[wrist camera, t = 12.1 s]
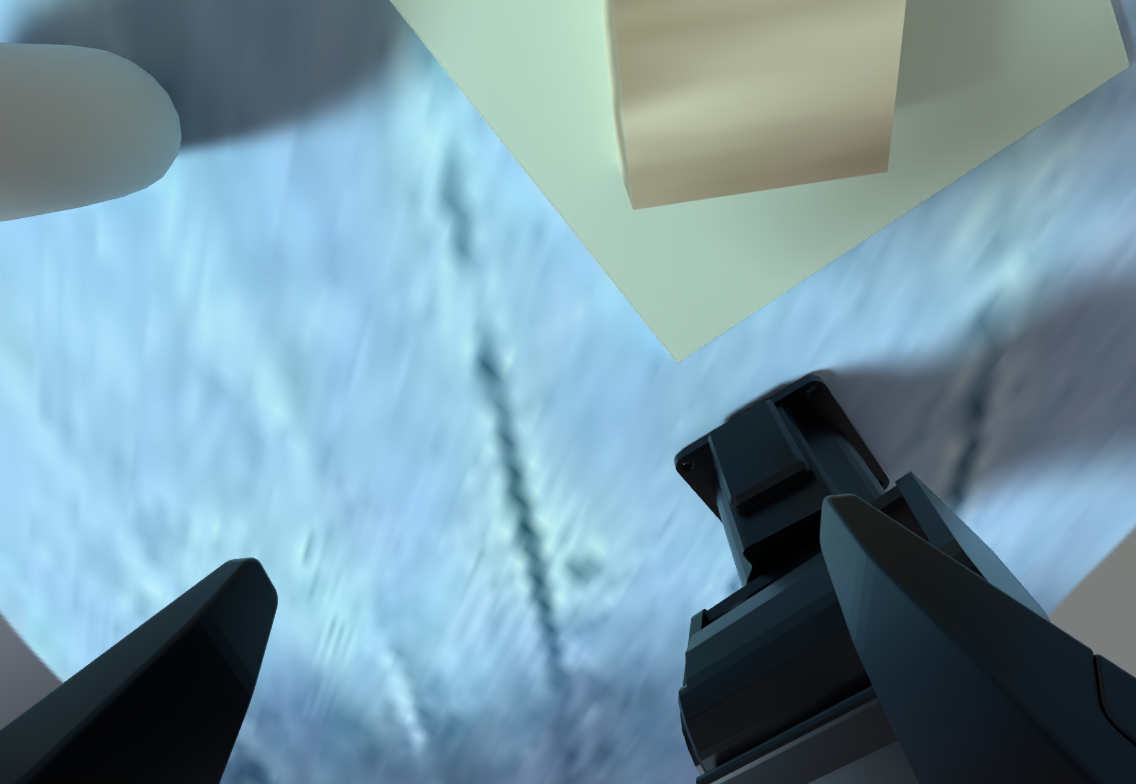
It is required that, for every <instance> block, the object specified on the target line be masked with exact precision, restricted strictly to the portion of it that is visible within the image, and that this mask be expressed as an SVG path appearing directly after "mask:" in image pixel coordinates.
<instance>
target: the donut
mask: <svg viewBox="0 0 1136 784" xmlns="http://www.w3.org/2000/svg"><path fill="white" fill-rule="evenodd" d="M181 138H182V134H181V127H180V120H179V115H178V113H177V111H176V109H175V107H174V105H173V103H172V101H171V98H170V96H169V95H168V93H167V92H166V91H165V90H164V89H163V88H162V86H161V85H160V84H159V83H158V82H157V81H156V79H155V78H154V77H153V76H152V75H150V74H149V73H148V72H146V71H145V70H143V69H142V68H141V67H139V66H138V65H136V64H135V63H134V62H132V61H131V60H129V59H126V58H124V57H121V56H119V55H116V54H114V53H111V52H109V51H106V50H102V49H96V48H88V47H80V46H73V45H56V44H28V43H0V222H1V221H8V220H14V219H20V218H25V217H30V216H36V215H41V214H47V213H52V212H58V211H63V210H68V209H74V208H79V207H83V206H87V205H91V204H95V203H100V202H104V201H108V200H112V199H116V198H120V197H124V196H126V195H129V194H131V193H134V192H137V191H139V190H142V189H145V188H147V187H148V186H150V185H151V184H153V183H155V182H156V181H158V180H159V179H161V178H162V177H163V176H164V175H165V173H166V172H167V170H168V169H169V167H170V166H171V164H172V163H173V161H174V160H175V159H176V157H177V156H178V152H179V147H180V143H181Z"/></svg>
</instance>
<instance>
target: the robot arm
mask: <svg viewBox="0 0 1136 784" xmlns="http://www.w3.org/2000/svg"><path fill="white" fill-rule="evenodd" d="M811 387H816V390H814V391H813V392H811V393H807V390H808V389H809V388H811ZM686 461H692V463H691V464H689V465H683V463H684V462H686ZM674 463H675V467H676V470H677V472H678V473H679V474H680V475H681V476H682V477H683V479H684V480H685V481H686V482H687V483H688V484H689V485H690V487H691V488H692V489H693V490H694V491H695V492H696V493H697V495H698V496H699V497H700V498H701V499H702V500H703V501H704V502H705V504H706V505H707V506H708V507H709V508H710V509H711V510H712V512H713V513H714V514H715V515H716V516H717V517H718V518H719V520H720V521H721V522H722V523H723V526H724V529H725V532H726V536H727V539H728V542H729V545H730V549H731V552H732V555H733V558H734V562H735V565H736V568H737V571H738V575H739V578H740V581H741V585H742V588H741V589H739V590H738V591H736V592H735V593H733V594H732V595H730V596H729V597H727V598H726V599H724V600H723V601H721V602H720V603H718V604H717V605H715V606H714V607H712V608H711V609H709V610H708V611H707V610H706V609H703V610H702V611H700V612H699V613H697V614H696V615H694V616H693V617H692V618H691V626H690V634H689V642H688V648H687V650H686V653H685V655H686V665H685V673H684V681H683V687H681V688H680V690H679V698H678V703H679V707H680V711H681V713H680V717H681V723H682V732H683V735H684V737H685V740H686V744H687V747H688V750H689V752H690V755H691V757H692V759H693V762H694V764H695V766H696V768H697V770H698V772H699V774H700V776H698V777H697V779H696V784H1136V678H1135V677H1134V676H1132V675H1131V674H1129V673H1127V672H1126V671H1124V670H1123V669H1121V668H1120V667H1118V666H1117V665H1115V664H1114V663H1112V662H1111V661H1109V660H1108V659H1106V658H1105V657H1103V656H1102V655H1098V654H1096V655H1094V654H1093V651H1092V650H1091V649H1090V648H1089V647H1087V646H1086V645H1084V644H1083V643H1081V642H1080V641H1078V640H1077V639H1075V638H1073V637H1072V636H1071V635H1069V634H1068V633H1066V632H1064V631H1063V630H1061V629H1060V628H1058V627H1056V626H1055V625H1054V624H1052V623H1051V622H1050V620H1049V618H1048V616H1047V615H1046V613H1045V611H1044V610H1043V609H1042V607H1041V606H1040V605H1039V604H1038V603H1037V602H1036V600H1035V599H1034V598H1033V597H1032V596H1031V595H1030V593H1029V592H1028V591H1027V590H1026V589H1025V588H1024V587H1023V585H1022V584H1021V583H1020V582H1019V581H1018V580H1017V578H1016V577H1015V576H1014V575H1013V574H1012V573H1011V572H1010V570H1009V569H1008V568H1007V567H1006V566H1005V565H1004V563H1003V562H1002V561H1001V560H1000V559H999V558H998V556H997V555H996V554H995V553H994V552H993V551H992V550H991V549H990V548H989V547H988V546H987V545H986V544H985V543H984V542H983V541H982V540H981V539H980V538H979V537H978V536H977V535H976V534H975V533H974V532H973V531H972V530H971V529H970V528H969V527H968V526H967V525H966V524H965V523H964V522H963V521H962V520H961V519H960V518H958V517H957V516H956V515H955V514H954V513H953V512H952V511H951V510H950V509H949V508H948V507H947V506H946V505H945V504H944V503H943V502H942V501H941V500H940V499H939V498H938V497H937V496H936V495H935V494H934V493H933V492H932V491H931V490H930V489H929V488H928V487H927V486H926V485H924V484H923V483H922V482H921V481H920V480H919V479H918V478H917V477H916V476H915V475H914V474H913V473H912V472H909V473H908V474H906V475H905V476H903V477H902V478H900V479H899V480H897V481H896V482H895V483H896V486H895V487H893V488H892V489H890V490H889V491H887V492H885V491H884V490H885V489H886V488H887V487H888V485H889V479H888V477H887V476H886V474H885V473H884V471H883V470H882V468H881V467H880V465H879V464H878V462H877V461H876V459H875V458H874V456H873V455H872V453H871V452H870V450H869V449H868V448H867V446H866V445H865V443H864V442H863V440H862V439H861V437H860V436H859V434H858V433H857V431H856V430H855V428H854V427H853V425H852V424H851V422H850V421H849V419H848V418H847V416H846V415H845V413H844V412H843V410H842V409H841V407H840V406H839V404H838V403H837V401H836V400H835V398H834V397H833V395H832V394H831V392H830V391H829V389H828V388H827V386H826V385H825V384H824V382H823V381H822V380H821V379H820V378H819V377H817V376H807V377H805V378H803V379H801V380H799V381H798V382H796V383H794V384H793V385H791V386H789V387H788V388H786V389H784V390H783V391H781V392H779V393H778V394H776V395H774V396H773V397H771V398H769V399H768V400H766V401H762V402H760V403H759V404H757V405H755V406H754V407H752V408H750V409H749V410H747V411H745V412H744V413H742V414H740V415H739V416H737V417H735V418H734V419H732V420H730V421H729V422H727V423H725V424H724V425H722V426H720V427H719V428H717V429H715V430H714V431H712V432H711V433H710V434H709V435H707V436H706V437H704V438H702V439H701V440H699V441H697V442H696V443H694V444H692V445H691V446H689V447H687V448H686V449H684V450H682V451H681V452H679V453H678V454H677V455H676V457H675V459H674ZM877 479H878V480H877ZM277 605H278V596H277V592H276V589H275V587H274V586H273V584H272V582H271V580H270V579H269V577H268V575H267V573H266V572H265V570H264V568H263V566H262V565H261V563H260V562H259V561H258V560H257V559H255V558H241V559H233V560H229V561H227V562H226V563H224V564H223V565H221V566H220V567H219V568H217V569H216V570H215V571H213V572H212V573H211V574H209V575H208V576H207V577H205V578H204V579H203V580H201V581H200V582H199V583H197V584H196V585H195V586H193V587H192V588H190V589H189V590H188V591H186V592H185V593H184V594H182V595H181V596H180V597H178V598H177V599H176V600H174V601H173V602H172V603H170V604H169V605H168V606H166V607H165V608H164V609H162V610H161V611H160V612H158V613H157V614H156V615H154V616H153V617H152V618H150V619H149V620H147V621H146V622H145V623H143V624H142V625H141V626H139V627H138V628H137V629H135V630H134V631H133V632H131V633H130V634H129V635H127V636H126V637H125V638H123V639H122V640H121V641H119V642H118V643H117V644H115V645H114V646H113V647H111V648H110V649H108V650H107V651H106V652H104V653H103V654H102V655H100V656H99V657H98V658H96V659H95V660H94V661H92V662H91V663H90V664H88V665H87V666H86V667H84V668H83V669H82V670H80V671H79V672H78V673H76V674H75V675H74V676H72V677H71V678H69V679H68V680H67V681H65V682H64V683H63V684H61V685H60V686H59V687H57V688H56V689H55V690H53V691H52V692H51V693H49V694H48V695H47V696H45V697H44V698H43V699H41V700H40V701H39V702H37V703H36V704H35V705H33V706H32V707H31V708H29V709H28V710H26V711H25V712H24V713H22V714H21V715H20V716H18V717H17V718H16V719H14V720H13V721H12V722H10V723H9V724H8V725H6V726H5V727H4V728H2V729H1V730H0V784H219V783H220V781H221V778H222V775H223V773H224V770H225V768H226V765H227V762H228V760H229V757H230V755H231V752H232V749H233V747H234V744H235V741H236V739H237V736H238V734H239V731H240V728H241V726H242V723H243V721H244V718H245V715H246V713H247V710H248V707H249V704H250V701H251V699H252V695H253V692H254V689H255V686H256V682H257V679H258V675H259V671H260V668H261V664H262V661H263V657H264V653H265V650H266V646H267V642H268V639H269V635H270V631H271V628H272V624H273V621H274V617H275V613H276V610H277Z"/></svg>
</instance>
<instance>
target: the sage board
mask: <svg viewBox="0 0 1136 784" xmlns="http://www.w3.org/2000/svg"><path fill="white" fill-rule="evenodd" d="M390 2H391V3H392V4H393V5H394V7H395V8H396V9H397V10H398V12H399V13H400V14H401V15H402V17H403V18H404V19H405V20H406V22H407V23H408V24H409V25H410V27H411V28H412V29H413V31H414V32H415V33H416V34H417V36H418V37H419V38H420V39H421V41H422V42H423V43H424V44H425V46H426V47H427V48H428V49H429V51H430V52H431V53H432V54H433V56H434V57H435V58H436V60H437V61H438V62H439V63H440V65H441V66H442V67H443V68H444V70H445V71H446V72H447V73H448V75H449V76H450V77H451V78H452V80H453V81H454V82H455V83H456V85H457V86H458V87H459V89H460V90H461V91H462V92H463V94H464V95H465V96H466V97H467V99H468V100H469V101H470V102H471V104H472V105H473V106H474V107H475V109H476V110H477V111H478V112H479V114H480V115H481V116H482V118H483V119H484V120H485V121H486V123H487V124H488V125H489V126H490V128H491V129H492V130H493V131H494V133H495V134H496V135H497V136H498V138H499V139H500V140H501V141H502V143H503V144H504V145H505V147H506V148H507V149H508V150H509V152H510V153H511V154H512V155H513V157H514V158H515V159H516V160H517V162H518V163H519V164H520V165H521V167H522V168H523V169H524V171H525V172H526V173H527V174H528V176H529V177H530V178H531V179H532V181H533V182H534V183H535V184H536V186H537V187H538V188H539V189H540V191H541V192H542V193H543V194H544V196H545V197H546V198H547V200H548V201H549V202H550V203H551V205H552V206H553V207H554V208H555V210H556V211H557V212H558V213H559V215H560V216H561V217H562V218H563V220H564V221H565V222H566V223H567V225H568V226H569V227H570V229H571V230H572V231H573V232H574V234H575V235H576V236H577V237H578V239H579V240H580V241H581V242H582V244H583V245H584V246H585V247H586V249H587V250H588V251H589V252H590V254H591V255H592V256H593V258H594V259H595V260H596V261H597V263H598V264H599V265H600V266H601V268H602V269H603V270H604V271H605V273H606V274H607V275H608V276H609V278H610V279H611V280H612V281H613V283H614V284H615V285H616V287H617V288H618V289H619V290H620V292H621V293H622V294H623V295H624V297H625V298H626V299H627V300H628V302H629V303H630V304H631V305H632V307H633V308H634V309H635V310H636V312H637V313H638V314H639V316H640V317H641V318H642V319H643V321H644V322H645V323H646V324H647V326H648V327H649V328H650V329H651V331H652V332H653V333H654V334H655V336H656V337H657V338H658V339H659V341H660V342H661V343H662V345H663V346H664V347H665V348H666V350H667V351H668V352H669V353H670V355H671V356H672V357H673V358H674V360H675V361H676V362H677V363H678V362H680V361H681V360H683V359H685V358H686V357H688V356H689V355H691V354H692V353H694V352H695V351H697V350H698V349H700V348H701V347H703V346H704V345H706V344H707V343H709V342H710V341H712V340H713V339H715V338H717V337H718V336H720V335H721V334H723V333H724V332H726V331H727V330H729V329H730V328H732V327H733V326H735V325H736V324H738V323H739V322H741V321H742V320H744V319H745V318H747V317H749V316H750V315H752V314H753V313H755V312H756V311H758V310H759V309H761V308H762V307H764V306H765V305H767V304H768V303H770V302H771V301H773V300H774V299H776V298H777V297H779V296H781V295H782V294H784V293H785V292H787V291H788V290H790V289H791V288H793V287H794V286H796V285H797V284H799V283H800V282H802V281H803V280H805V279H806V278H808V277H809V276H811V275H813V274H814V273H816V272H817V271H819V270H820V269H822V268H823V267H825V266H826V265H828V264H829V263H831V262H832V261H834V260H835V259H837V258H838V257H840V256H841V255H843V254H845V253H846V252H848V251H849V250H851V249H852V248H854V247H855V246H857V245H858V244H860V243H861V242H863V241H864V240H866V239H867V238H869V237H870V236H872V235H873V234H875V233H877V232H878V231H880V230H881V229H883V228H884V227H886V226H887V225H889V224H890V223H892V222H893V221H895V220H896V219H898V218H899V217H901V216H902V215H904V214H905V213H907V212H909V211H910V210H912V209H913V208H915V207H916V206H918V205H919V204H921V203H922V202H924V201H925V200H927V199H928V198H930V197H931V196H933V195H934V194H936V193H937V192H939V191H941V190H942V189H944V188H945V187H947V186H948V185H950V184H951V183H953V182H954V181H956V180H957V179H959V178H960V177H962V176H963V175H965V174H966V173H968V172H969V171H971V170H973V169H974V168H976V167H977V166H979V165H980V164H982V163H983V162H985V161H986V160H988V159H989V158H991V157H992V156H994V155H995V154H997V153H998V152H1000V151H1001V150H1003V149H1005V148H1006V147H1008V146H1009V145H1011V144H1012V143H1014V142H1015V141H1017V140H1018V139H1020V138H1021V137H1023V136H1024V135H1026V134H1027V133H1029V132H1030V131H1032V130H1033V129H1035V128H1037V127H1038V126H1040V125H1041V124H1043V123H1044V122H1046V121H1047V120H1049V119H1050V118H1052V117H1053V116H1055V115H1056V114H1058V113H1059V112H1061V111H1062V110H1064V109H1065V108H1067V107H1069V106H1070V105H1072V104H1073V103H1075V102H1076V101H1078V100H1079V99H1081V98H1082V97H1084V96H1085V95H1087V94H1088V93H1090V92H1091V91H1093V90H1094V89H1096V88H1097V87H1099V86H1101V85H1102V84H1104V83H1105V82H1107V81H1108V80H1110V79H1111V78H1113V77H1114V76H1116V75H1117V74H1119V73H1120V72H1122V71H1123V70H1125V69H1126V68H1128V67H1129V66H1130V64H1129V61H1128V57H1127V54H1126V50H1125V47H1124V44H1123V40H1122V37H1121V34H1120V30H1119V27H1118V23H1117V20H1116V17H1115V13H1114V10H1113V6H1112V3H1111V0H906V8H905V17H904V26H903V35H902V44H901V53H900V62H899V72H898V81H897V90H896V99H895V108H894V117H893V126H892V135H891V145H890V154H889V163H888V172H883V173H877V174H870V175H863V176H857V177H850V178H843V179H837V180H830V181H823V182H817V183H810V184H803V185H797V186H790V187H783V188H777V189H770V190H763V191H757V192H750V193H743V194H736V195H730V196H723V197H716V198H710V199H703V200H696V201H690V202H683V203H676V204H670V205H663V206H656V207H650V208H643V209H636V210H633V208H632V205H631V202H630V199H629V197H628V194H627V191H626V188H625V185H624V182H623V179H622V176H621V173H620V171H619V168H618V159H617V150H616V140H615V130H614V121H613V111H612V101H611V92H610V82H609V73H608V63H607V53H606V44H605V34H604V24H603V15H602V5H601V0H390Z"/></svg>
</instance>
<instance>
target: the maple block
mask: <svg viewBox="0 0 1136 784" xmlns="http://www.w3.org/2000/svg"><path fill="white" fill-rule="evenodd" d="M601 5H602V15H603V24H604V34H605V44H606V53H607V63H608V73H609V82H610V92H611V101H612V111H613V121H614V130H615V140H616V150H617V159H618V168H619V171H620V173H621V176H622V179H623V182H624V185H625V188H626V191H627V194H628V197H629V199H630V202H631V205H632V208H633V210H636V209H643V208H650V207H656V206H663V205H670V204H676V203H683V202H690V201H696V200H703V199H710V198H716V197H723V196H730V195H736V194H743V193H750V192H757V191H763V190H770V189H777V188H783V187H790V186H797V185H803V184H810V183H817V182H823V181H830V180H837V179H843V178H850V177H857V176H863V175H870V174H877V173H883V172H888V163H889V154H890V145H891V135H892V126H893V117H894V108H895V99H896V90H897V81H898V72H899V62H900V53H901V44H902V35H903V26H904V17H905V8H906V0H601Z"/></svg>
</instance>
